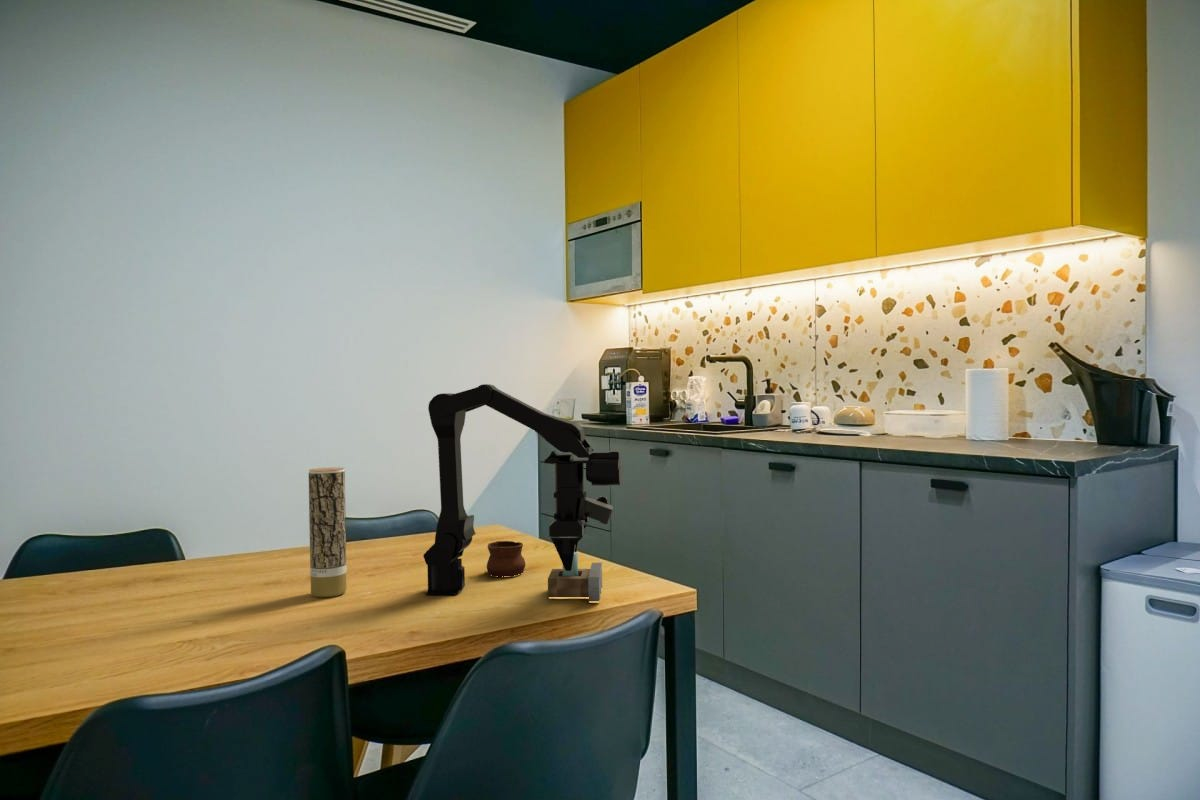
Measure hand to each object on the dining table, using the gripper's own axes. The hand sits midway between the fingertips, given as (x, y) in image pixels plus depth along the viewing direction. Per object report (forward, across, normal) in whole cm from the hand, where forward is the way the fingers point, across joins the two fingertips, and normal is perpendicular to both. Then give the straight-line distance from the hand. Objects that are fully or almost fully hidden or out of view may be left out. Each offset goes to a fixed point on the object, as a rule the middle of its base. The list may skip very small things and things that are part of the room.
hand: (570, 565), depth 150 cm
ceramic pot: (+6, +17, +16) cm, 24 cm away
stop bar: (+6, -1, -5) cm, 8 cm away
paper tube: (+6, 0, +49) cm, 49 cm away
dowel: (+6, 0, 0) cm, 6 cm away
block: (+6, 0, 0) cm, 6 cm away
